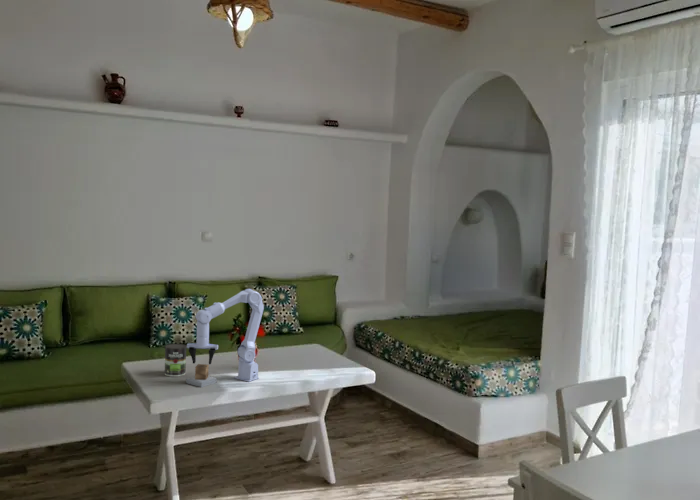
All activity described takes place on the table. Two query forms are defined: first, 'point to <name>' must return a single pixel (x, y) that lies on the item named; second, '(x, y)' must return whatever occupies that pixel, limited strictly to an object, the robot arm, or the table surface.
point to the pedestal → (201, 381)
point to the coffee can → (175, 360)
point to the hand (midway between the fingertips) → (202, 363)
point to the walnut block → (201, 371)
